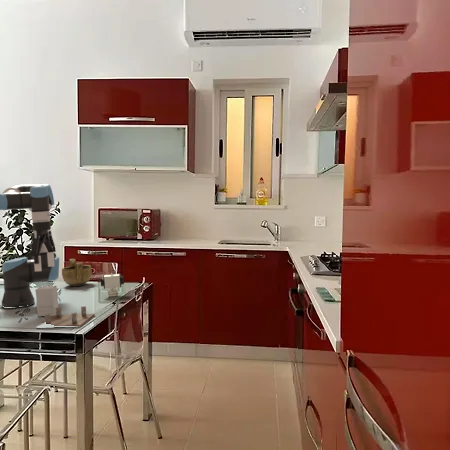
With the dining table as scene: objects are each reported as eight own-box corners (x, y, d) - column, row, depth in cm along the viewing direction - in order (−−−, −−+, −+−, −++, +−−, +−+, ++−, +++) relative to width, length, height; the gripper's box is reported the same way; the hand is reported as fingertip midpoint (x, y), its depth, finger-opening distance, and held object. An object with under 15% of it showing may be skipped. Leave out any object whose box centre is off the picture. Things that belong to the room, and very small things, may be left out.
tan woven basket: (59, 284, 292) (57, 260, 291) (87, 280, 301) (86, 257, 300) (66, 290, 273) (64, 264, 272) (96, 286, 281) (94, 260, 280)
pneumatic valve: (124, 295, 249) (123, 272, 248) (101, 298, 246) (99, 274, 245) (124, 293, 254) (123, 271, 253) (101, 295, 251) (100, 273, 250)
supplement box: (59, 312, 219) (57, 285, 218) (54, 316, 212) (51, 288, 211) (43, 313, 219) (40, 286, 218) (37, 317, 211) (35, 289, 211)
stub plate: (36, 329, 192) (35, 316, 192) (54, 317, 210) (53, 306, 210) (80, 327, 191) (79, 315, 191) (94, 315, 209) (94, 304, 208)
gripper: (36, 222, 200) (40, 272, 201) (60, 219, 225) (64, 264, 226) (19, 223, 200) (23, 273, 202) (45, 220, 225) (48, 264, 226)
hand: (45, 268), depth 214 cm, fingers open, 13 cm apart
